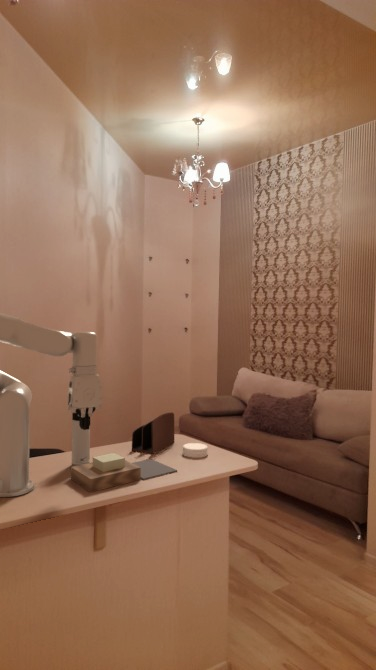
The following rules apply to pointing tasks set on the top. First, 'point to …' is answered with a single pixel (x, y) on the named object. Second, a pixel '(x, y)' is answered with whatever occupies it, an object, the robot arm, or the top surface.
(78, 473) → the riser
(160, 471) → the mat
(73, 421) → the travel mug
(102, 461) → the tile
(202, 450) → the white short cylinder
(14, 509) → the top surface
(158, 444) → the letter holder
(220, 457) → the top surface
